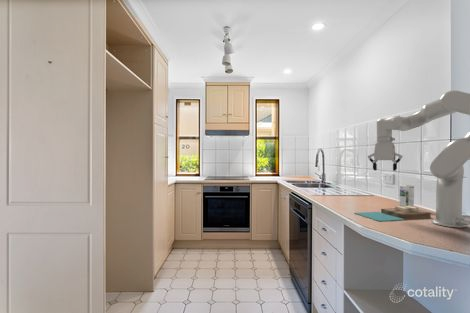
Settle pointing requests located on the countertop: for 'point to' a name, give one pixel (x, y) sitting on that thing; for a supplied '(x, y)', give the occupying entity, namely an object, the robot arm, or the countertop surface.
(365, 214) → the teal mat
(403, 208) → the birch tile
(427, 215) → the walnut deck
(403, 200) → the syrup box
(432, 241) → the countertop surface
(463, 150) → the robot arm
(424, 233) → the countertop surface
